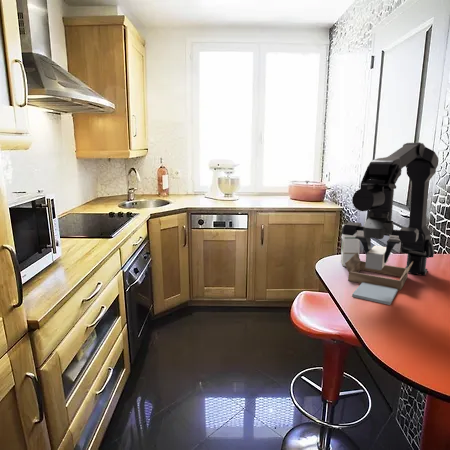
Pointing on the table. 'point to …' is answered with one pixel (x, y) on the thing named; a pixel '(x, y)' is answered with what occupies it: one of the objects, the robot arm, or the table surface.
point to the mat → (375, 293)
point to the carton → (356, 265)
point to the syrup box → (349, 247)
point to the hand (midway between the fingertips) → (376, 261)
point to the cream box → (376, 258)
